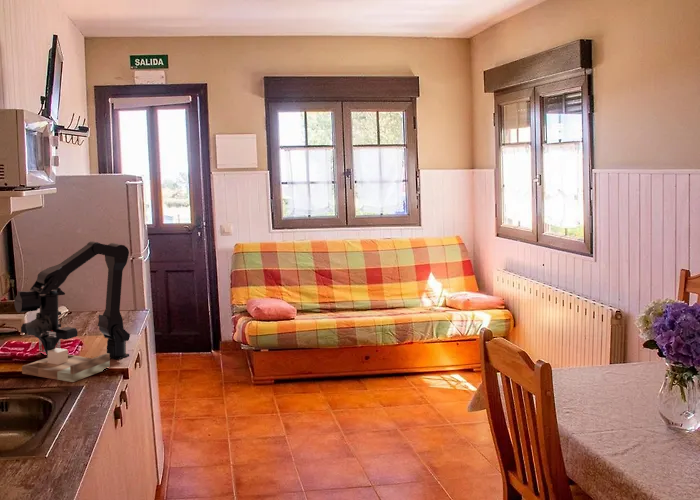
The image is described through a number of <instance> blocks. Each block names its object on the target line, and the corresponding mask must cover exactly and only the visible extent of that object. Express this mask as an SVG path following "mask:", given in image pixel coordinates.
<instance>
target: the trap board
mask: <svg viewBox="0 0 700 500" xmlns="http://www.w3.org/2000/svg"><path fill="white" fill-rule="evenodd" d="M110 359H111V358H110V353H107V352H106V353H104V354H100V355H98V356H96V357H88V356H82V355H81V356H80V355H74V354H68V362H65V363H62V364H59V365H57V364H52V363H48V357H46V358H42V359H39V360H36V361H33V362H30V363H27V364H24V365H22V366H21V374H23V375H29V376H35V377H40V378H47V379H53V380H56V381H57V380H58V381H59V380H60V381H64V382H71V383H75V382H77V381H81V380H82V379H85V378H88V377H90V376H93V375H96V374H98V373H101V372H104V371H105V370H104V369H105V368H107V367H111V365H110V363H111V362H110V361H111V360H110ZM103 370H104V371H103Z"/></svg>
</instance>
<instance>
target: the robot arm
mask: <svg viewBox="0 0 700 500" xmlns="http://www.w3.org/2000/svg"><path fill="white" fill-rule="evenodd" d="M97 255H101V256H102V255H103V256H104V260H105V263H106V266H107V269H108V270H107V283H106V296H105V309H104V312H103V313H102V314H99V315H98V323H97V327H98V329H99V332H101V334H103V338H105V339H107V341H106V343H107V344H106V353H110V359H112V360H113V359H115V360H121V359H123V358H127V357H129V356H130V353H127V352H126V349H127V348H126V347H127V344H126V343H127V342H129V341H130V337H131V334H130V333H129V332H128V331H127V330H126V329H125V328H124V321H123V317H122V314H121V299H122V298H121V297H122V296H121V295H122V284H123V273H124V269H125V267H126V265H127V263H128V260H129V255H130V250H129V248H128V246H126V245H124V244H120V243H115V242H110V243H109V244H108V243H107V244H105V243H100V242H97V241H92V240H91V241H89V242H88V243H86V245H84V246H83V247H82V248H80V249H78V250H77V251H76V252H74V253H73V254H71V255H70V256H68V257H67V258H66V259H64V260H63V261H62V262H60V263H57V264H55V265H52V266H49V267H47V268H46V269H44V270H41V271H40V272H39V273H38V274H37V276H36V277H37V278H36V280H35V282H34V283H33V284H32V286H31V288H30V289H29V290H18V291H17V293H16V294H17V295H15V298H14V301H13V303H14V309H15V311H16V312H17V313H18V314H20V313H27V312H28V313H29V312H37V311H38V310H39V312H37V313H36V316H35V319H32V320H31V321H29V322H25V323H22V325H21V326H20V333H21V334H22V333H23V334H27V335H28V336H34V337H35V338H37V339H38V340H39V339H40V340H41V342H42V344H43V346H44V349H45V352H46V354H47V356H46V357H48V351H49V350H52V349H54V348H55V346H56V344H57V343H58V341H59V339H60V340H69V339H73V338H77V337H78V329H77V327H71V326H65V327H62V324H61V323H59V324H58V322H59V316H61V315H62V311H59V296H65V295H66V293H65V291H63V289H61V288H60V286H62V285H63V284H64V283H65V281H66V280H67V279H68V277H69V276H70V274H72V273H73V272H74V271H76V270H77V269H79V268H81V266H83V265H84V264H85V263H88V261H90V260H92V258H94V257H96V256H97ZM59 327H60V329H58V328H59ZM51 330H53V331H51Z"/></svg>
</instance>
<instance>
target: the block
mask: <svg viewBox="0 0 700 500" xmlns="http://www.w3.org/2000/svg"><path fill="white" fill-rule="evenodd" d="M68 355H69V350H68V349H66V348H65V349H64V348H61V347H60V348H55V349H52V350H49V351H48V356H47V358H48V363H52V364H57V365H59V364H62V363H65V362H68Z"/></svg>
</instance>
